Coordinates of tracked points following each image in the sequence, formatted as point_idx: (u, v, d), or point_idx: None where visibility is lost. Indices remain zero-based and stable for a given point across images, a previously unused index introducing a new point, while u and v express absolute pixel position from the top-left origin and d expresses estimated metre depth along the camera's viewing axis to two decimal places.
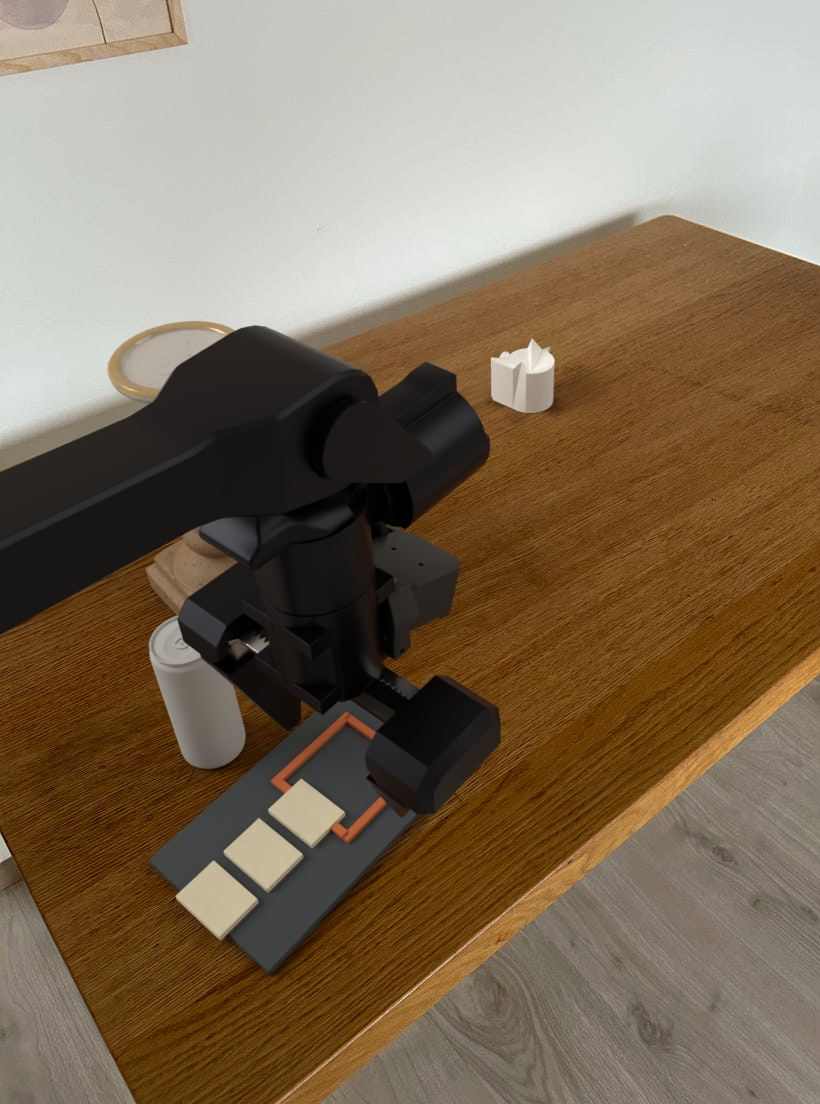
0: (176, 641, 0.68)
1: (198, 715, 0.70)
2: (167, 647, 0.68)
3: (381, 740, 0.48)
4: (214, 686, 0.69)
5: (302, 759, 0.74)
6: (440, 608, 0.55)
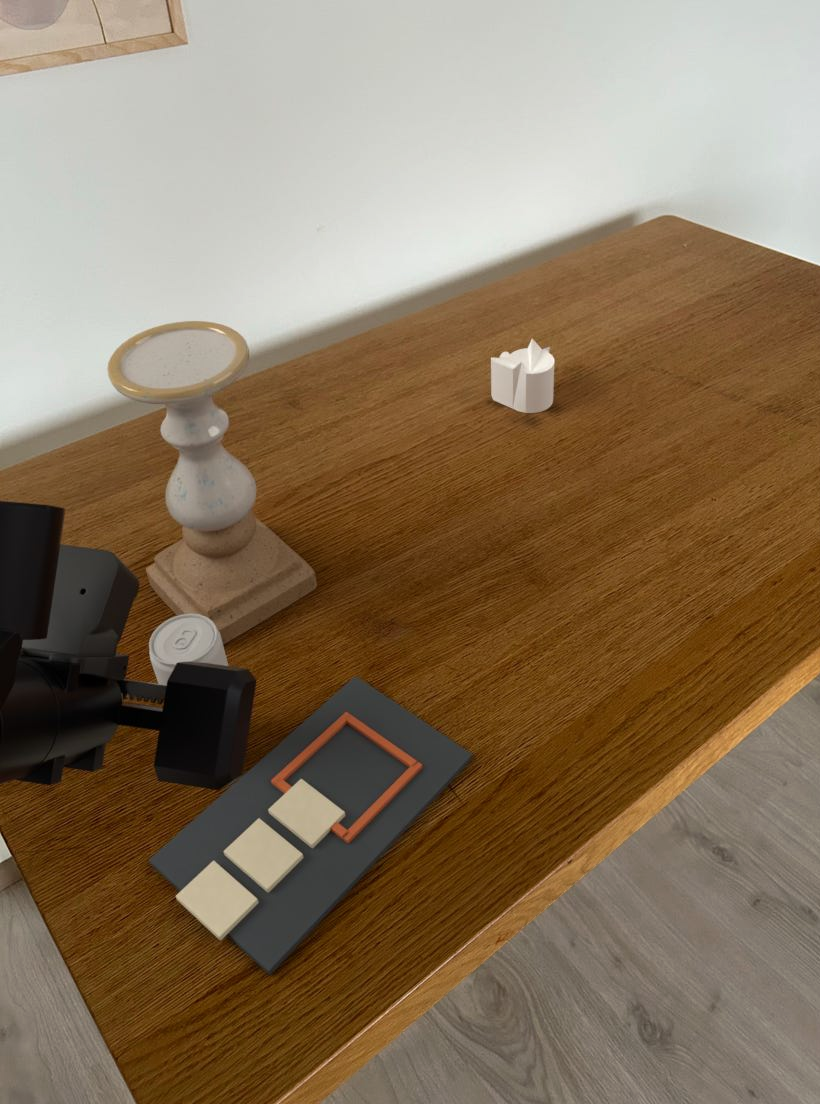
0: (176, 641, 0.68)
1: None
2: (167, 647, 0.68)
3: (163, 769, 0.53)
4: None
5: (302, 759, 0.74)
6: (128, 598, 0.54)
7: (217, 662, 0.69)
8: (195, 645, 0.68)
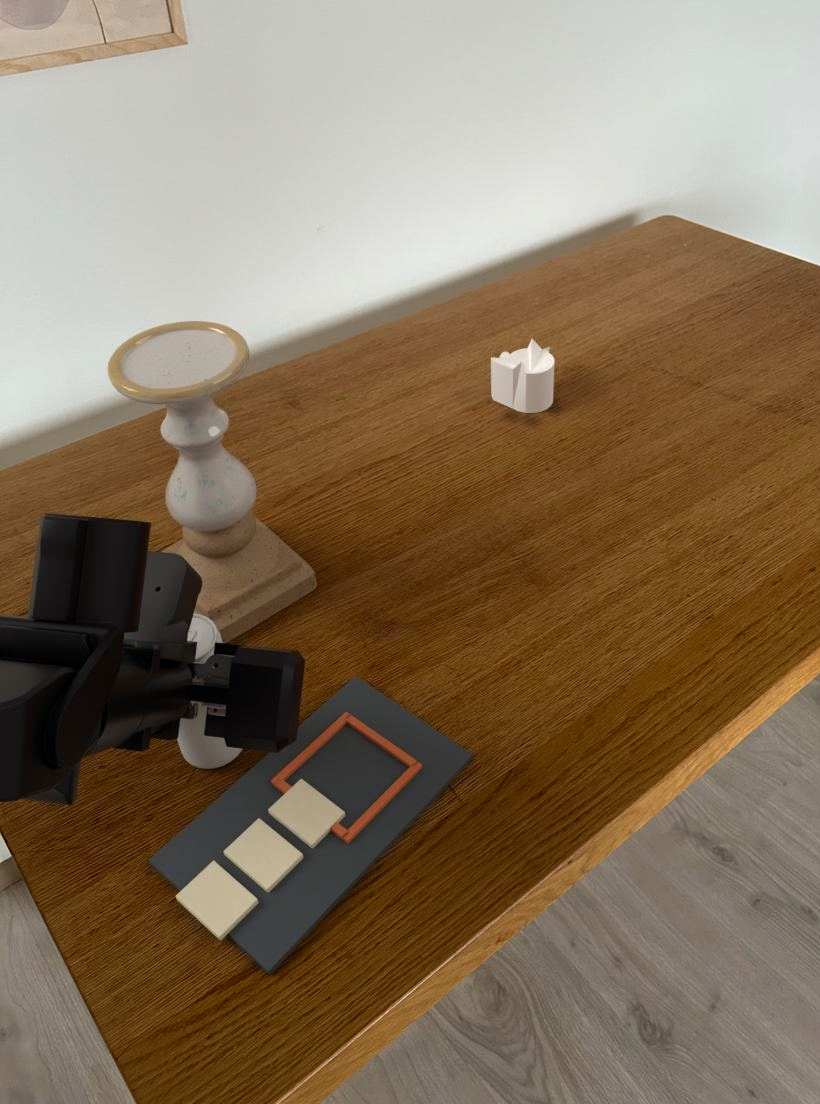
0: None
1: (198, 715, 0.70)
2: None
3: (230, 737, 0.62)
4: None
5: (302, 759, 0.74)
6: (194, 594, 0.64)
7: None
8: None
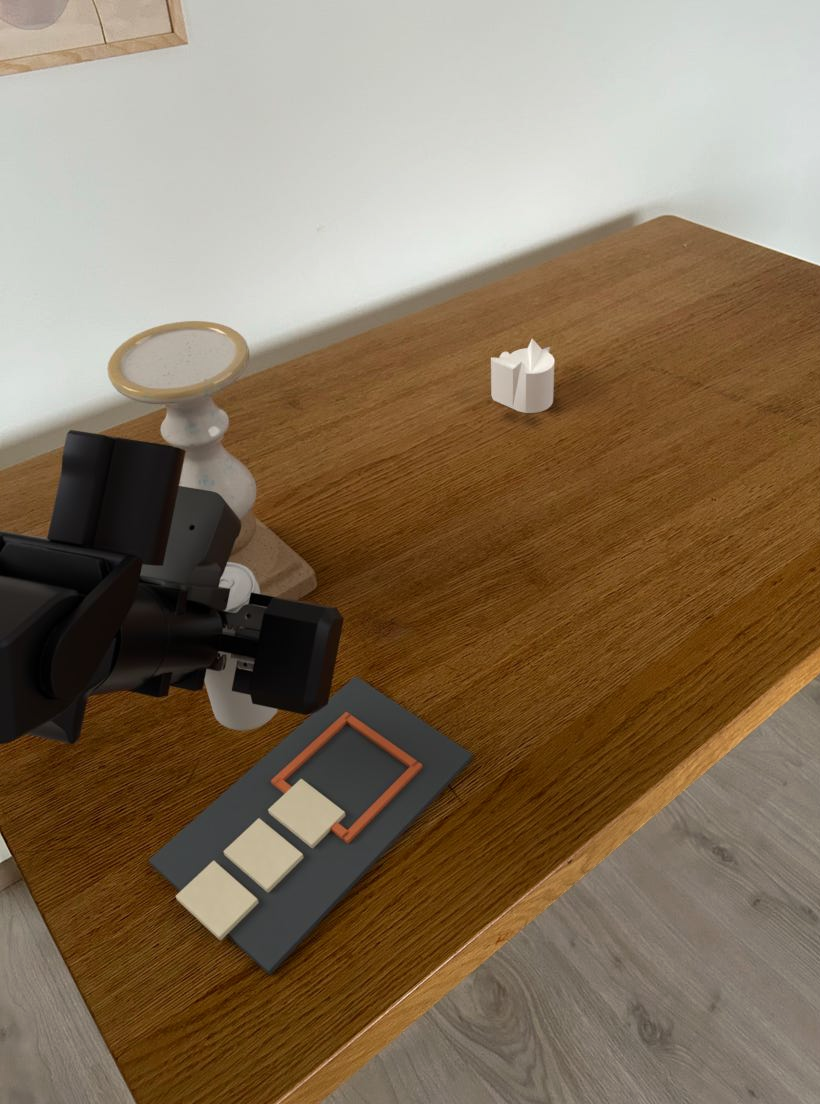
0: None
1: (230, 670, 0.66)
2: None
3: (257, 693, 0.58)
4: None
5: (302, 759, 0.74)
6: (231, 537, 0.60)
7: None
8: (230, 595, 0.64)
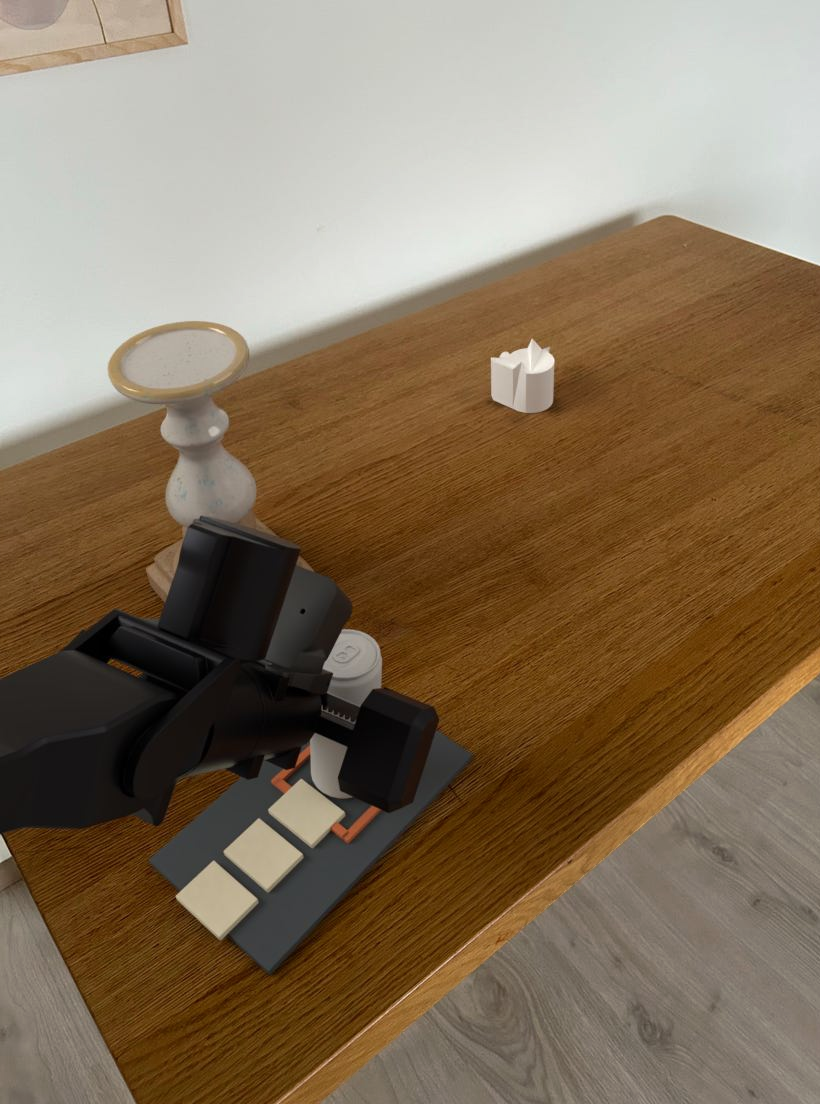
0: (338, 654, 0.66)
1: None
2: None
3: (345, 783, 0.58)
4: None
5: (302, 759, 0.74)
6: (341, 622, 0.60)
7: (371, 687, 0.66)
8: (354, 663, 0.66)
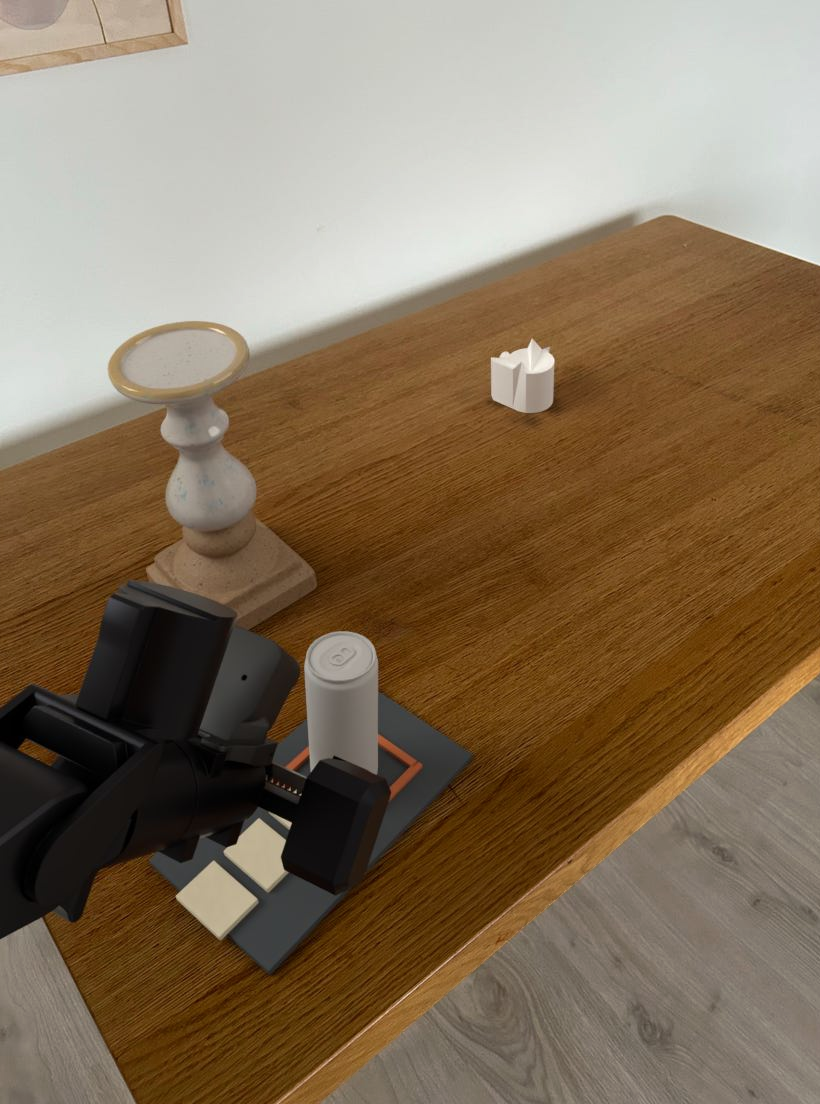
0: (333, 656, 0.66)
1: (335, 738, 0.67)
2: (323, 659, 0.66)
3: (288, 862, 0.54)
4: (358, 713, 0.66)
5: (302, 759, 0.74)
6: (286, 688, 0.56)
7: (367, 689, 0.66)
8: (350, 666, 0.65)
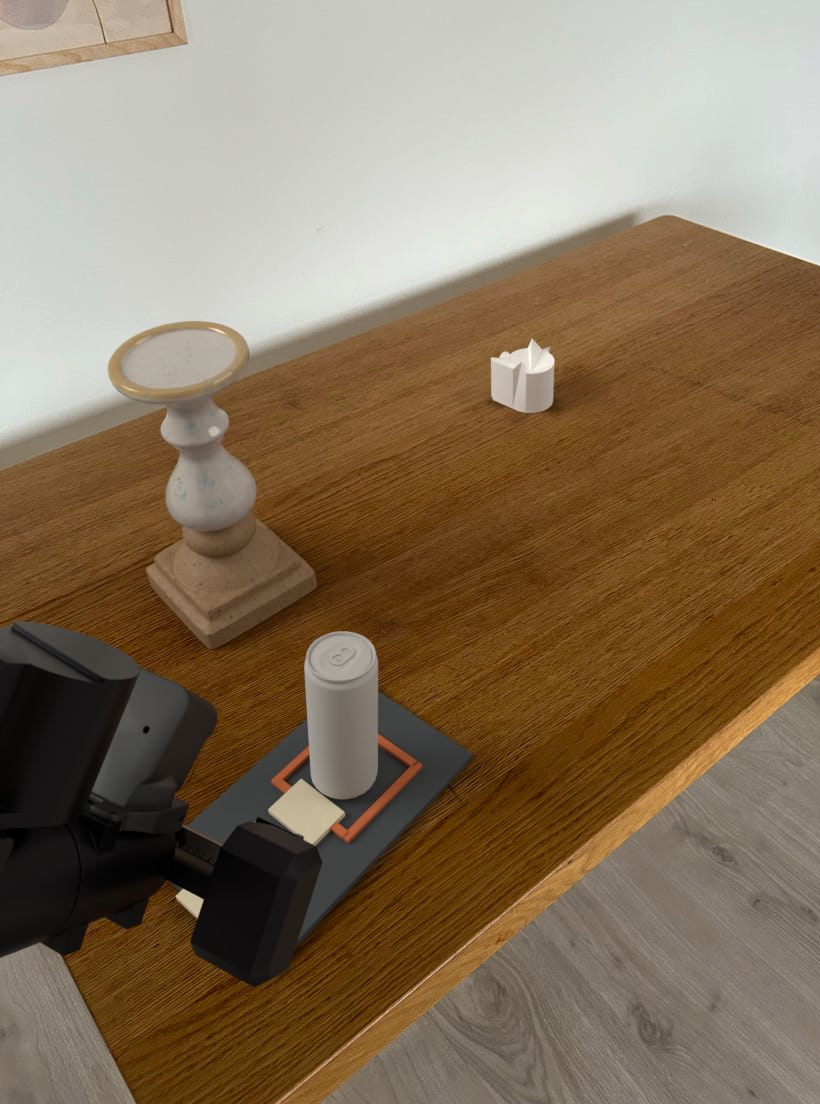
0: (333, 656, 0.66)
1: (335, 738, 0.67)
2: (323, 659, 0.66)
3: (199, 948, 0.46)
4: (358, 713, 0.66)
5: (302, 759, 0.74)
6: (199, 739, 0.48)
7: (367, 689, 0.66)
8: (350, 666, 0.65)
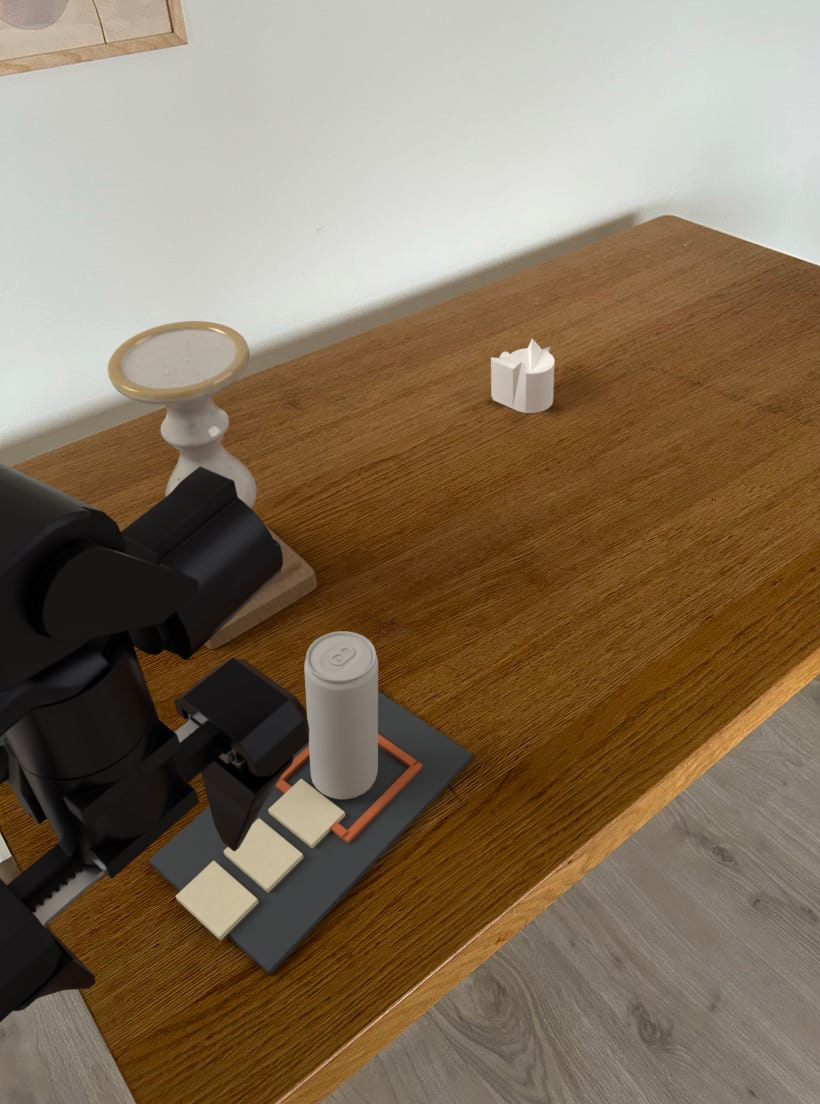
0: (333, 656, 0.66)
1: (335, 738, 0.67)
2: (323, 659, 0.66)
3: (248, 740, 0.49)
4: (358, 713, 0.66)
5: (302, 759, 0.74)
6: None
7: (367, 689, 0.66)
8: (350, 666, 0.65)
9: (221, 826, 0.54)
